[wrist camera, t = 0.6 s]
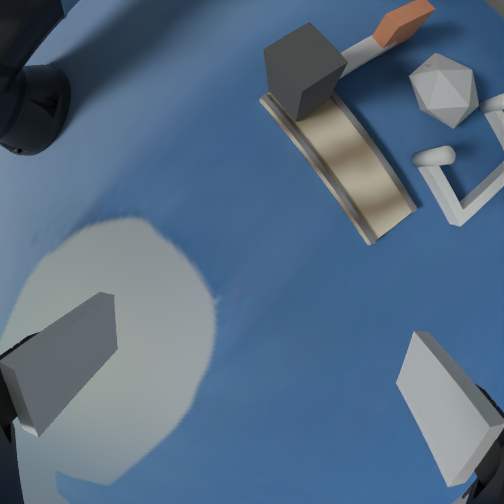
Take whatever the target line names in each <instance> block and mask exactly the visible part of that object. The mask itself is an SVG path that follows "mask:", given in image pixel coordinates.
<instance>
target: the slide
mask: <svg viewBox="0 0 504 504" xmlns="http://www.w3.org/2000/svg"><path fill="white" fill-rule="evenodd" d="M259 100H260V102H261V104H262V105H263V106H264V107H265V108H266V109H267V111H268V112H269V113H270V114H271V115H272V117H273V118H274V119H275V120H276V121H277V123H278V124H279V125H280V126H281V127H282V129H283V130H284V131H285V132H286V134H287V135H288V136H289V137H290V139H291V140H292V141H293V142H294V144H295V145H296V146H297V147H298V149H299V150H300V151H301V152H302V154H303V155H304V156H305V158H306V159H307V160H308V162H309V163H310V164H311V166H312V167H313V168H314V169H315V171H316V172H317V173H318V175H319V176H320V177H321V179H322V180H323V182H324V183H325V184H326V186H327V187H328V188H329V190H330V191H331V193H332V194H333V195H334V197H335V198H336V199H337V201H338V202H339V204H340V205H341V207H342V208H343V209H344V211H345V212H346V214H347V215H348V217H349V218H350V220H351V221H352V222H353V224H354V225H355V227H356V228H357V230H358V231H359V233H360V234H361V236H362V237H363V239H364V240H365V242H366V243H367V244H368V245H370V244H372V245H373V244H374V243H375V242H376V240H377V239H378V238H380V237H381V236H382V235H383V234H385V233H386V232H387V231H389V230H390V229H391V228H393V227H394V226H395V225H396V224H398V223H399V222H400V221H401V220H403V219H404V218H405V217H407V216H408V215H409V214H410V213H412V212H415V211H416V210H417V207H416V205H415V204H414V202H413V200H412V199H411V197H410V195H409V194H408V192H407V191H406V189H405V187H404V186H403V184H402V183H401V181H400V180H399V178H398V176H397V175H396V173H395V172H394V170H393V169H392V167H391V166H390V164H389V163H388V161H387V160H386V158H385V157H384V156H383V154H382V153H381V151H380V150H379V148H378V147H377V146H376V144H375V143H374V141H373V140H372V139H371V137H370V136H369V135H368V133H367V132H366V131H365V129H364V128H363V127H362V125H361V124H360V123H359V121H358V120H357V119H356V117H355V116H354V115H353V114H352V112H351V111H350V110H349V109H348V107H347V106H346V105H345V104H344V102H343V101H342V100H341V99H340V97H339V96H338V95H337V94H336V93H335V91H334V90H333V92H332V94H331V96H330V98H329V100H328V101H326V102H325V103H323V104H322V105H320V106H319V107H317V108H316V109H314V110H313V111H311V112H310V113H309V114H307V115H306V116H304V117H303V118H301V119H300V120H299V121H297V122H296V123H295V121H294V120H293V119H292V118H291V116H290V115H289V114H288V113H287V112H286V110H285V109H284V108H283V107H282V106H281V105H280V103H279V102H278V101H277V100H276V99H275V98H274V96H273V95H272V94H271V93H270V92H269V93H268V94H264V95H262V96H261V99H259Z"/></svg>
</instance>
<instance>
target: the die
mask: <svg viewBox="0 0 504 504" xmlns="http://www.w3.org/2000/svg"><path fill="white" fill-rule="evenodd" d="M409 78H410V81H411V83H412V86H413V89H414V92H415V95H416V98H417V102H418V105H419V108H420V110H421V111H423V112H425V113H427V114H429V115H431V116H432V117H434V118H436V119H438V120H439V121H441V122H443V123H444V124H446V125H448V126H450V127H451V128H453V129H454V128H455V127H456V126H457V125H458V124H459V123H460V122H462V121H463V120H464V119H465V118H466V117H467V116H468V115H469V114H470V113H472V112H473V111H474V110H475V109H476V108H477V107H478V106H479V102H478V96H477V91H476V86H475V81H474V76H473V71H472V70H471V69H469V68H467V67H465V66H463V65H461V64H459V63H457V62H455V61H453V60H451V59H449V58H446V57H444V56H442V55H440V54H437V53H434V54H433V55H432V56H431V57H430V58H429V59H428V60H426V61H425V62H424V63H423V64H422V65H421V66H420V67H418V68H417V69H416V70H415V71H414V72H413V73H412V74H411V75H409Z"/></svg>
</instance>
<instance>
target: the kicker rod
mask: <svg viewBox="0 0 504 504" xmlns="http://www.w3.org/2000/svg"><path fill="white" fill-rule="evenodd" d="M434 10H435V8H434V7H433V6H432V5H431V4H430V3H429V2H428V1H427V0H415V1H413V2H411V3H408V4H406V5H404V6H402V7H399V8H397V9H395V10H393V11H391V12H389V13H387V14H385V16H384V18H383V19H382V21H381V23H380V24H379V26H378V28H377V29H376V31H375V33H374V34H373V35H371V36H370V37H368V38H366V39H364V40H362V41H361V42H359V43H357V44H355V45H354V46H352V47H350V48H348V49H347V50H345V51H343V52H342V53H339V52H338V50H337V49H336V48H335V47H334V46H333V45H332V44H331V43H330V42H329V41H328V40H327V39H326V38H325V37H324V36H323V35H322V34H321V33H320V32H319V31H318V30H317V29H316V28H315V27H314V26H313V25H312V24H311V23H310V22H309V23H307V24H305V25H303V26H302V27H300V28H298V29H296V30H295V31H293V32H291V33H290V34H288V35H286V36H285V37H283V38H281V39H280V40H278V41H276V42H275V43H273V44H272V45H270V46H268V47H267V48H265V49H264V57H265V64H266V72H267V79H268V87H269V92H270V93H271V94H272V95H273V96H274V98H275V99H276V100H277V101H278V102H279V103H280V105H281V106H282V107H283V108H284V109H285V110H286V112H287V113H288V114H289V115H290V116H291V118H292V119H293V120H294V121H295V123H296V122H297V121H299V120H300V119H301V118H303V117H304V116H306V115H307V114H309V113H310V112H311V111H313V110H314V109H316V108H317V107H319V106H320V105H322V104H323V103H325V102H326V101H328V100H329V98H330V96H331V94H332V92H333V90H334V88H335V86H336V84H337V83H338V81H339V79H340V78H342V77H343V76H345V75H346V74H348V73H350V72H351V71H353V70H355V69H356V68H358V67H359V66H361V65H363V64H364V63H366V62H368V61H369V60H371V59H373V58H374V57H377V56H379V55H381V54H383V53H384V52H386V51H388V50H390V49H391V48H393V47H395V46H397V45H398V44H400V43H402V42H404V41H406V40H407V39H409V38H411V36H412V35H413V34H414V33H415V32H416V31H417V30H418V28H419V27H420V26H421V25H422V24H423V23H424V22H425V21H426V19H427V18H428V17H429V16H430V15H431V14H432V13H433V11H434Z"/></svg>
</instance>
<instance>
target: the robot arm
mask: <svg viewBox="0 0 504 504" xmlns="http://www.w3.org/2000/svg"><path fill="white" fill-rule="evenodd" d="M78 1H79V0H0V145H1V146H2V147H4V148H6V149H7V150H9V151H11V152H12V153H14V154H17V155H27V156H31V155H35V154H38V153H40V152H41V151H43V150H44V149H45V148H47V147H48V146H49V145H50V144H51V143H52V141H53V140H54V139H55V137H56V136H57V134H58V133H59V131H60V129H61V127H62V125H63V123H64V121H65V118H66V115H67V112H68V108H69V102H70V87H69V82H68V79H67V77H66V76H65V74H64V73H63V72H62V71H60V70H59V69H57V68H54V67H52V66H49V65H31V66H24V65H25V64H26V63H27V61H28V60H29V59H30V57H31V56H32V55H33V53H34V52H35V51H36V50H37V48H38V47H39V46H40V45H41V43H42V42H43V41H44V40H45V39H46V37H47V36H48V35H49V34H50V33H51V32H52V30H53V29H54V28H55V27H56V26H57V25H58V24H59V23H60V21H61V20H62V19H65V18H66V17H67V14H68V12H69V11H70V10H71V9H72V8H73V7H74V6H75V5H76V3H77V2H78ZM114 306H115V305H114V295H112V294H107V293H102V292H99V293H97V294H96V295H94V296H93V297H91V298H90V299H88V300H87V301H85V302H84V303H82V304H81V305H79V306H78V307H76V308H75V309H73V310H72V311H71V312H69V313H67V314H66V315H64V316H63V317H61V318H60V319H58V320H57V321H55V322H54V323H53V324H51V325H50V326H48V327H47V328H45V329H44V330H42V331H41V332H38V333H35V334H32V335H30V336H27V337H26V338H24V339H23V340H22V341H20V343H17V344H16V345H14V346H13V348H10V349H9V350H7V351H6V352H4V353H3V354H2V355H0V504H24V500H23V495H22V489H21V483H20V476H19V469H18V461H17V451H16V439H15V428H14V425H13V422H12V421H13V420H14V419H15V418H16V417H17V416H18V419H19V421H20V424H21V426H22V428H23V429H24V430H26V431H28V432H30V433H31V434H33V435H35V436H37V437H40V435H41V434H42V433H43V432H44V431H45V430H46V429H47V427H48V426H49V425H50V424H51V423H52V422H53V421H54V419H55V418H56V417H57V416H58V415H59V414H60V413H61V411H62V410H63V409H64V408H65V407H66V406H67V405H68V403H69V402H70V401H71V400H72V399H73V398H74V397H75V396H76V394H77V393H78V392H79V391H80V390H81V389H82V388H83V387H84V386H85V384H86V383H87V382H88V381H89V380H90V379H91V378H92V377H93V376H94V374H95V373H96V372H97V371H98V370H99V369H100V368H101V367H102V366H103V364H104V363H105V362H106V361H107V360H108V359H109V358H110V356H112V355H113V354H114V353H115V351H116V350H117V349H118V348H117V336H116V323H115V307H114ZM396 384H397V386H398V387H399V389H400V391H401V393H402V395H403V397H404V399H405V401H406V402H407V404H408V406H409V408H410V410H411V412H412V414H413V416H414V418H415V420H416V422H417V424H418V426H419V428H420V430H421V432H422V434H423V436H424V438H425V440H426V442H427V444H428V446H429V448H430V450H431V452H432V454H433V456H434V458H435V460H436V462H437V464H438V467H439V469H440V471H441V473H442V475H443V477H444V479H445V482H446V484H447V486H448V487H451V486H455V485H459V484H462V483H465V482H466V481H467V480H468V478H469V477H470V476H471V475H472V473H473V472H474V471H475V473H476V475H477V479H476V480H475V481H474V482H473V484H472V485H471V486H470V487H469V488H468V490H467V491H466V492H465V493H464V494H463V496H462V498H463V499H464V498H465V497H466V496H467V494H469V493H470V494H469V497H468V499H467V502H466V504H504V413H503V411H502V410H501V409H500V408H499V407H498V406H496V405H497V404H496V403H495V402H494V401H493V400H491V397H490V396H489V395H488V393H487V392H486V391H485V390H484V389H482V388H481V387H479V386H478V385H476V384H474V383H473V381H472V380H471V379H470V378H469V377H468V376H467V374H466V373H465V372H464V371H463V370H462V369H461V368H460V366H459V365H458V364H457V363H456V362H455V361H454V360H453V359H452V357H451V356H450V355H449V354H448V353H447V352H446V351H445V350H444V349H443V348H442V346H441V345H440V344H439V343H438V342H437V341H436V340H435V339H434V338H433V337H432V336H431V335H430V333H429V332H423V331H414V332H413V335H412V338H411V342H410V345H409V348H408V351H407V354H406V357H405V360H404V363H403V366H402V368H401V371H400V374H399V377H398V379H397V382H396Z"/></svg>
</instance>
